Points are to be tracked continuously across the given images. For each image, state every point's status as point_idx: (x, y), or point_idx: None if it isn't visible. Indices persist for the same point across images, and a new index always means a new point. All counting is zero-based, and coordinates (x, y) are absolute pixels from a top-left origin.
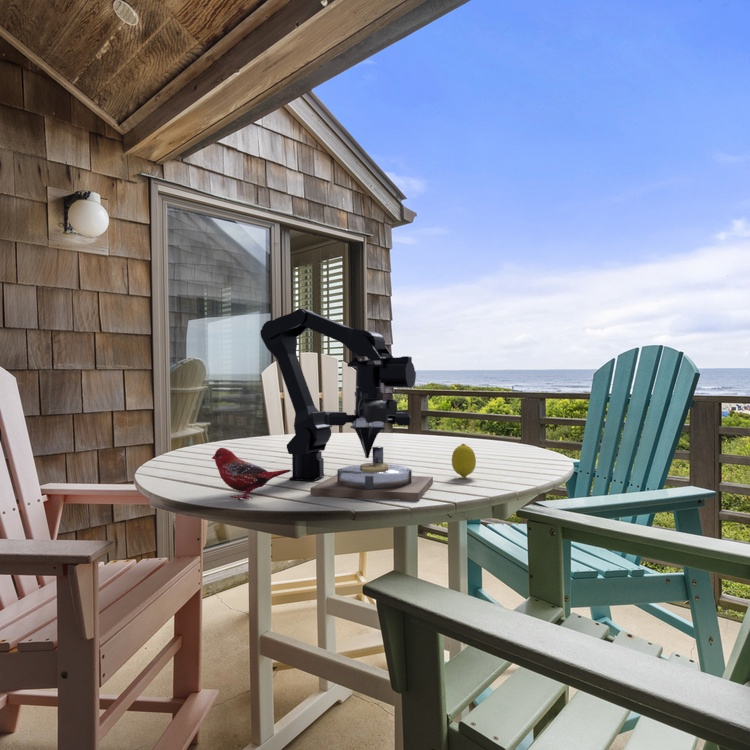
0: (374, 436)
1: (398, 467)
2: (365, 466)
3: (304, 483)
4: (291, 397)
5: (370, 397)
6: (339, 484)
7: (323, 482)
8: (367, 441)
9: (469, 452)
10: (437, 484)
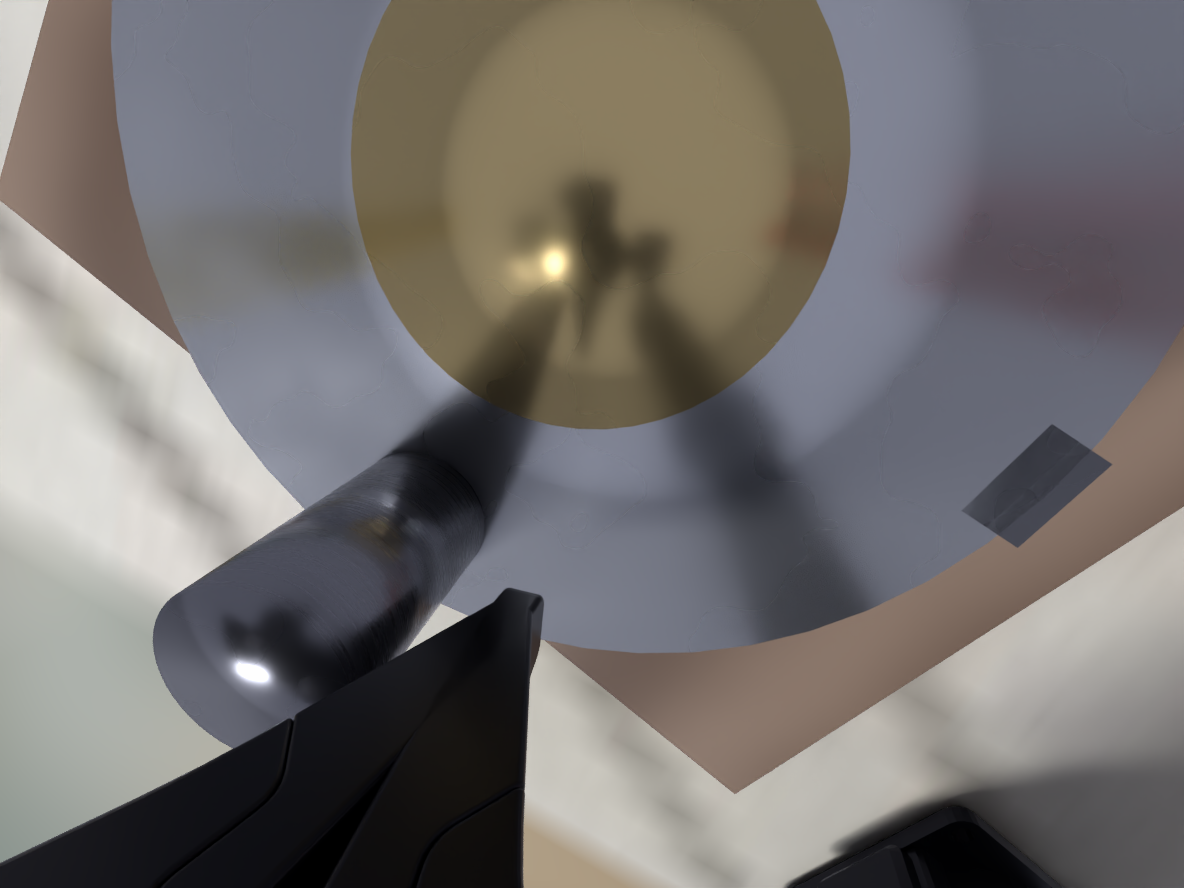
0: (69, 882)
1: (230, 213)
2: (800, 97)
3: (1079, 785)
4: None
5: None
6: None
7: (1166, 487)
8: (408, 806)
9: None
10: None
